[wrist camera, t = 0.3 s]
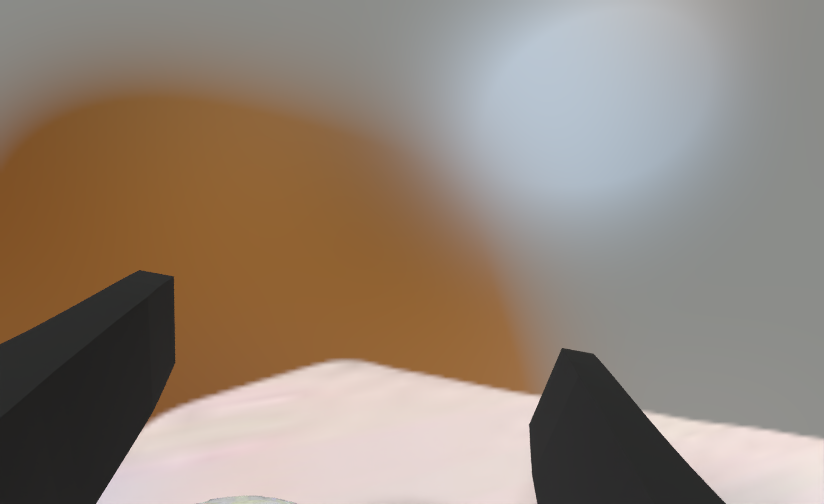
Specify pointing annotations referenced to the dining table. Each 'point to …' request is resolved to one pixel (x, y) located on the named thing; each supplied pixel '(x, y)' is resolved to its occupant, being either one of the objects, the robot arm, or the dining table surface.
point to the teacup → (247, 500)
